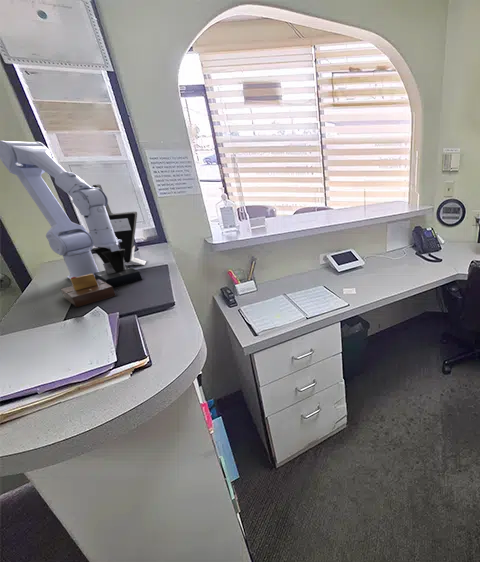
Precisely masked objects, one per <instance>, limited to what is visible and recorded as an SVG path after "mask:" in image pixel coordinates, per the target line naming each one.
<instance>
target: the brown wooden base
mask: <svg viewBox="0 0 480 562" xmlns="http://www.w3.org/2000/svg"><path fill="white" fill-rule="evenodd" d="M96 282H97V284H98V285H96V286H92V287H88V288H84V289H80V290H77V291H76V290H75V289H74V287H73V285H70V286H69V285H68V286H66V287H62V288H60V292H61V293H62V295H63V297H64V299H65V300H67V302H69V303H70V304H72V305H73V306H74V307H75V308H79V307H83V306H87V305H89V304H92V303H97V302H100V301H102V300H107V299H110V298H113V297H116V296H117V295H116V293H115V289H114V287H112V286H110V285H109V284H107V283H106V282H103V281H101V280H100V279H97V280H96Z"/></svg>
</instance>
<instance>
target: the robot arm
mask: <svg viewBox="0 0 480 562" xmlns="http://www.w3.org/2000/svg"><path fill="white" fill-rule="evenodd" d="M0 161H1V162H2V164H3V165H4V167H5V168H6V169H7V171H8V172H9V173H10V174H13V175H15V176H16V177H17V178H18V180H19V181H20V183H21V184H22V186H23V187H24V189H25V190H26V192H27V193H28V195H29V196H30V197H31V199H32V201H33V202H34V203H35V205H36V206H37V208H38V209H39V211H40V212H41V214H42V215H43V217H44V218H45V219H46V221H47V222H48V224H49V226H50V228H49V229H48V230H47V231H46V234H45V238H46V239H47V242H48V245H49V247H50V248H51V250H52V251H53V252H54V253H55V254H57V255H59V256H62V258H63V260H64V263H65V266H66V268H67V270H68V272H69V273H68V274H69V275H67V276H66V277H67V279H69V280H70V278H71V277H79V276H83V275H87V274H91V273H92V274H94V273H96V272H100V270H99V268H98V266H97V263H96V260H95V257H94V256H93V253H92V252H94V253H96V255H97V256H98V257H99V258H100V260H101V262H102V263H103V264H104V263H109V262H110V264H111V266H112V267H113V269H114V270H115V272H120V271H124V266H125V265H124V263H123V258H124V253H125V249H121V248H120V246H119V242H122V240H120V239H117V237H116V236H115V234H114V231H113V228H112V225H111V222H110V219H109V216H108V213H107V211H106V208H105V206H107V204H108V205H109V200H108V196H107V195H106V193H105V192H104V190H103V189H102V190H103V191H102V190H101V189H100V188H94V187H92V186H90V185H89V184H88V183H87V182H85V180H84V179H82V178H81V177H79V176H78V175H77V174H76V173H74V172H72V171H66V170H65V169H64V168H63V167H62V166H61V165H60V164H59V163H58V162H57V161H56V160H55V159H54V158H53V157H52V154H51V151H50V149H49V148H48V147H47V146H46V145H45V144H44V143H43V142H41V141H10V140H8V141H7V140H0ZM44 173H46V174H47V175H49V176H51V177H52V178H54V183H55V185H56V186H57V187H59V188H60V189H61V190H62V191H63V192H64V193H66V194H67V195H68V196H70V198H71V199H72V203H73V204H74V207H76V208H77V210H78V211H79V214H80V215H81V216H83V218H84V221H85V224H86V227H87V229H88V230H87V229H86V228H85V227H84V225H81V224H79V223H75V222H73V221H71V219H70V218H69V216H68V215H67V213H66V212H65V210H64V208H63V207H62V205H61V204H60V203H59V201H58V200H57V198H56V196H55V195H54V194H53V192H52V190H51V189H50V188H49V186H48V184H47V182H45V179H44V178H43V177H42V175H43V174H44ZM89 231H90V233H89ZM94 277H95V275H94Z"/></svg>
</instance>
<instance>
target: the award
mask: <svg viewBox="0 0 480 562" xmlns="http://www.w3.org/2000/svg"><path fill="white" fill-rule="evenodd" d="M91 187H94V188H100V189H101V190H102V191H103V192H104V190H103V188H102V185H101V184H99V183H98V184H93V185H92V186H91ZM105 208H106V211H107V213H108V216H109V219H110V222H111V225H112V228H113V231H114V234H115V236H116V239H117V240H118V239H120V240H122V242H119V243H118V246H119V248H120V249H125V253H124V258H123V263H124V266H127V265H135V266H145V265H146V263H147V261H146V260H144V259H141V258H136V257H135V249H136V245H135V238H136V236H135V235H136V228H137V220H138V212H137V211H128V212H127V211H126V212H118V213H113V212H112V211H111V208H110V206H109V203H108V204H107V206H105ZM88 233H90V231H89V230H88Z"/></svg>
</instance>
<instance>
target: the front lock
mask: <svg viewBox="0 0 480 562" xmlns="http://www.w3.org/2000/svg"><path fill="white" fill-rule="evenodd" d="M69 281H70V283H71V286H73V287H74V289H75V290H76V291H77V290H80V289H84V288H88V287H92V286H96V285H98V284H97V282H96V278H95V277H94V274H92V273H91V274H87V275H83V276H79V277H71V278H70V279H69Z"/></svg>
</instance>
